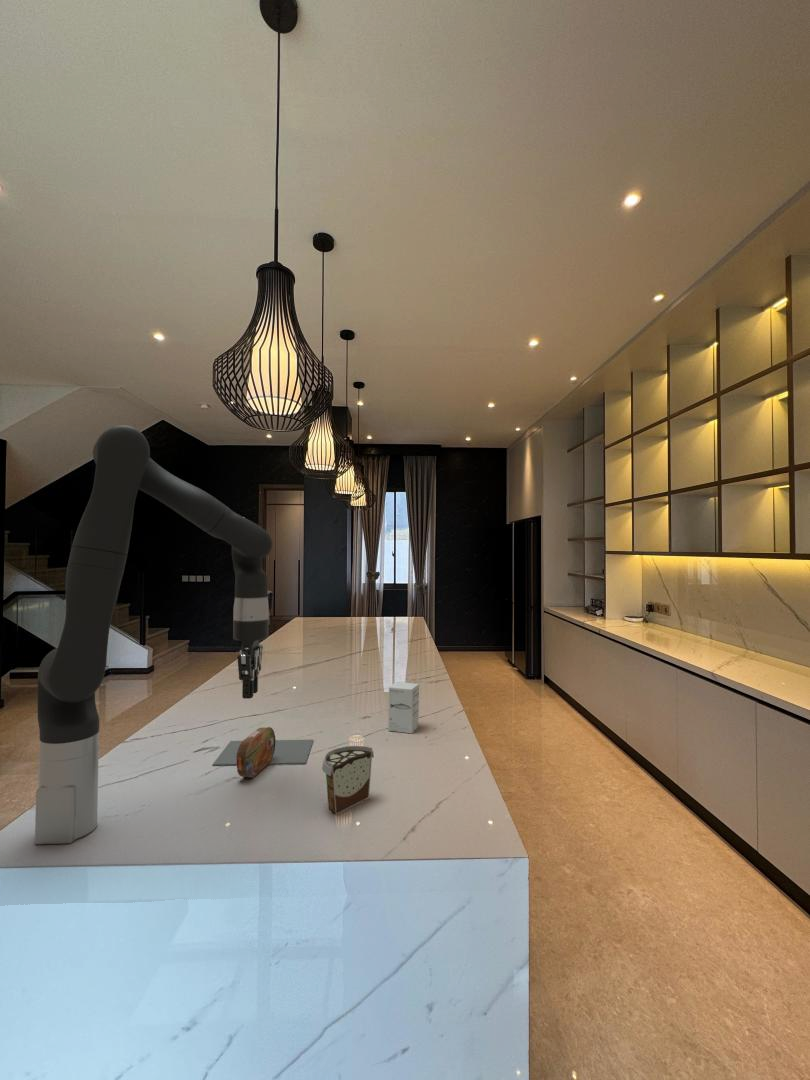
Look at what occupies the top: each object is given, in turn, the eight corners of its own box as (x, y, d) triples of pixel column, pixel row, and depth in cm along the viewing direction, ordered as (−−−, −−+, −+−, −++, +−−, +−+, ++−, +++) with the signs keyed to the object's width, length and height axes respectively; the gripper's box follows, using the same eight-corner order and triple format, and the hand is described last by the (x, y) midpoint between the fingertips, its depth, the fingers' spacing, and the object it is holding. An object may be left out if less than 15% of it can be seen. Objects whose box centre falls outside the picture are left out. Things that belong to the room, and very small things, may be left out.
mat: (305, 764, 127) (305, 762, 127) (212, 765, 126) (212, 764, 126) (313, 740, 143) (313, 739, 143) (230, 742, 142) (230, 740, 142)
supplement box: (387, 731, 151) (387, 687, 152) (395, 723, 158) (395, 681, 159) (412, 734, 149) (412, 688, 149) (419, 726, 156) (419, 682, 156)
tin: (246, 784, 116) (246, 746, 116) (233, 783, 117) (233, 745, 117) (276, 756, 131) (276, 722, 131) (264, 755, 131) (265, 721, 131)
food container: (352, 787, 115) (353, 740, 115) (373, 795, 111) (374, 747, 111) (308, 808, 105) (309, 757, 105) (330, 818, 101) (330, 765, 101)
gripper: (261, 621, 111) (260, 704, 110) (274, 614, 125) (273, 687, 125) (224, 621, 110) (223, 704, 110) (241, 614, 125) (241, 687, 124)
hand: (250, 695), depth 117 cm, fingers open, 3 cm apart
